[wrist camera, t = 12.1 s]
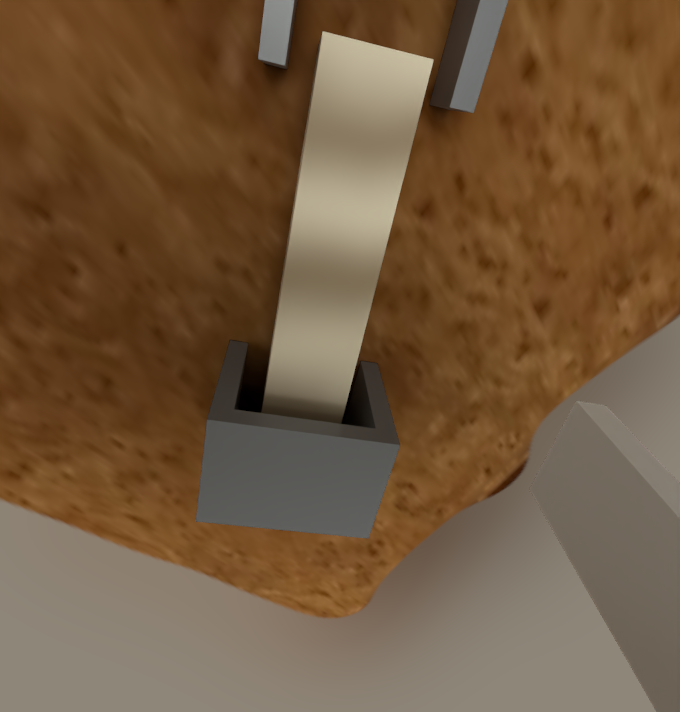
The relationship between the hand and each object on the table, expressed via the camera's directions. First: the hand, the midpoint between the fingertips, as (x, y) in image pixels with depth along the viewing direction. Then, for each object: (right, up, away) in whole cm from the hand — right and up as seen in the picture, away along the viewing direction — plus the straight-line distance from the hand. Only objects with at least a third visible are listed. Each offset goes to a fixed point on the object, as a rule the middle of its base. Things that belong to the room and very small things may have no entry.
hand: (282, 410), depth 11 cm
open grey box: (-1, -1, +19) cm, 19 cm away
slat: (0, +6, +15) cm, 16 cm away
